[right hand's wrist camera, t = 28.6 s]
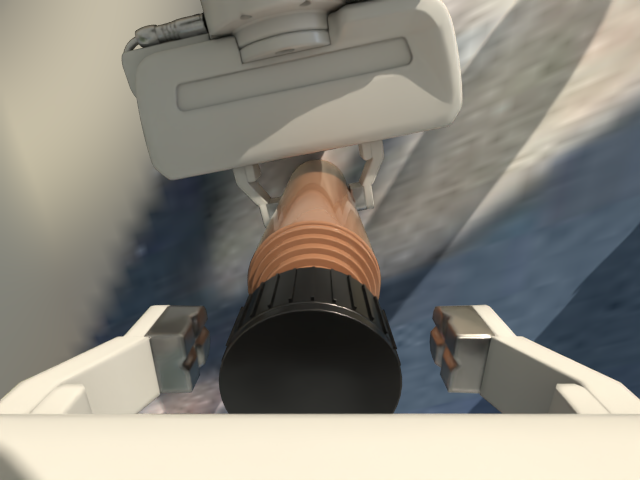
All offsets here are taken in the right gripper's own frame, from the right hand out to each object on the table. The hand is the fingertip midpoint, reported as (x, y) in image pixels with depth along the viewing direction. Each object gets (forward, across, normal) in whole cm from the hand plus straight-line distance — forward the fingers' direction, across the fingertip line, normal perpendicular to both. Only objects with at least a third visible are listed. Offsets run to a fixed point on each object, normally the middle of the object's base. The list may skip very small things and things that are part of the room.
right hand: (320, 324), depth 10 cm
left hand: (+15, 0, -1) cm, 15 cm away
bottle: (+21, 0, 0) cm, 21 cm away
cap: (-2, 0, 0) cm, 2 cm away
